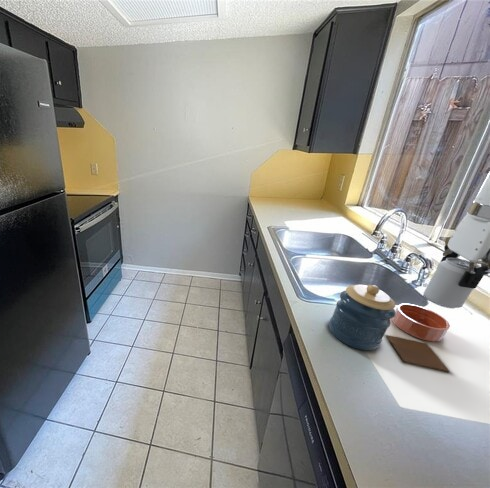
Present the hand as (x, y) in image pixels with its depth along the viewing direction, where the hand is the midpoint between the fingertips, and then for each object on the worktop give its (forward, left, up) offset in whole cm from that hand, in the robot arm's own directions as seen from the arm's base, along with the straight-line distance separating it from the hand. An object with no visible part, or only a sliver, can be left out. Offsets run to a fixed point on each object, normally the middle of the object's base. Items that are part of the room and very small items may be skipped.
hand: (454, 278), depth 66 cm
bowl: (-4, -8, -23) cm, 24 cm away
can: (0, 0, -8) cm, 8 cm away
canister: (+17, +2, -23) cm, 29 cm away
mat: (+2, +4, -23) cm, 23 cm away
